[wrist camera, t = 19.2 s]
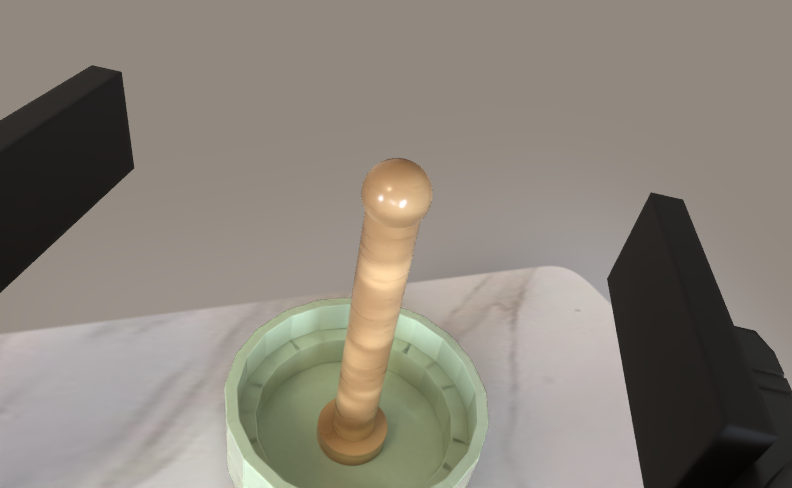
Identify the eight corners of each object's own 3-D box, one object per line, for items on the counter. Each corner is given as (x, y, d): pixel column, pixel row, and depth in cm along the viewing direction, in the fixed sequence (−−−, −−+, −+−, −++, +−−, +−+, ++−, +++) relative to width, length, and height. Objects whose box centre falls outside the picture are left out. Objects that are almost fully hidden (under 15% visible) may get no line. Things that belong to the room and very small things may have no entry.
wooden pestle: (398, 434, 38) (472, 169, 26) (353, 480, 35) (412, 204, 23) (348, 394, 40) (395, 128, 28) (301, 434, 37) (330, 157, 25)
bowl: (509, 441, 40) (533, 391, 37) (359, 632, 30) (374, 586, 27) (344, 319, 47) (351, 267, 43) (174, 442, 36) (167, 386, 33)
